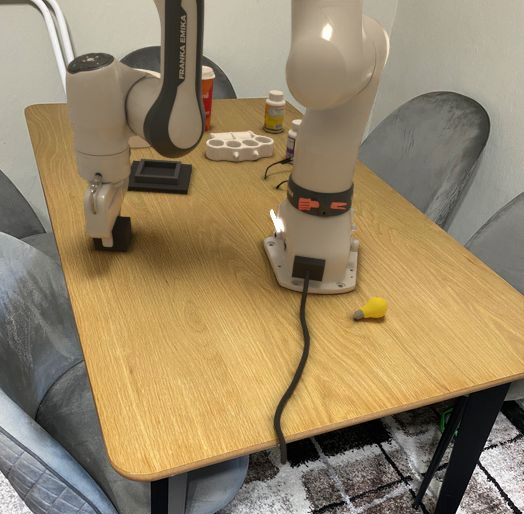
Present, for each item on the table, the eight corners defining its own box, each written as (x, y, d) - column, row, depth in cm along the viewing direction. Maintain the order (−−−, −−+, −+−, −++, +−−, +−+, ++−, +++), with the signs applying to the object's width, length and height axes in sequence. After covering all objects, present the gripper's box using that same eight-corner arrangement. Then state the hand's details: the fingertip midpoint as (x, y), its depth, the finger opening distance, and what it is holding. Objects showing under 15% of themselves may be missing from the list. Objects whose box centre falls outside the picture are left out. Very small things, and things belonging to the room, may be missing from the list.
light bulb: (389, 316, 88) (392, 306, 85) (357, 329, 88) (359, 319, 84) (379, 301, 90) (382, 290, 87) (348, 313, 89) (350, 303, 86)
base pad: (187, 194, 116) (186, 183, 114) (123, 190, 115) (122, 179, 113) (191, 168, 126) (191, 158, 125) (133, 164, 125) (132, 154, 124)
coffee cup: (180, 129, 145) (178, 70, 135) (191, 120, 151) (190, 62, 141) (208, 134, 143) (208, 75, 133) (218, 125, 149) (219, 67, 139)
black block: (127, 251, 97) (125, 232, 94) (94, 249, 96) (91, 230, 94) (132, 235, 101) (130, 216, 99) (101, 233, 101) (98, 214, 98)
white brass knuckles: (259, 139, 144) (280, 160, 134) (196, 143, 138) (213, 166, 128) (260, 127, 141) (281, 147, 132) (196, 130, 136) (213, 152, 126)
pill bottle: (306, 158, 137) (311, 119, 130) (305, 166, 133) (310, 127, 126) (285, 155, 137) (290, 117, 130) (284, 163, 133) (288, 124, 126)
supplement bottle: (267, 125, 152) (270, 87, 146) (285, 129, 151) (289, 91, 144) (260, 131, 148) (263, 93, 142) (279, 135, 147) (282, 96, 140)
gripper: (110, 191, 81) (119, 266, 90) (131, 141, 96) (137, 210, 105) (69, 188, 81) (82, 263, 90) (97, 139, 96) (106, 208, 105)
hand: (112, 234), depth 98 cm, fingers closed on black block, 6 cm apart
